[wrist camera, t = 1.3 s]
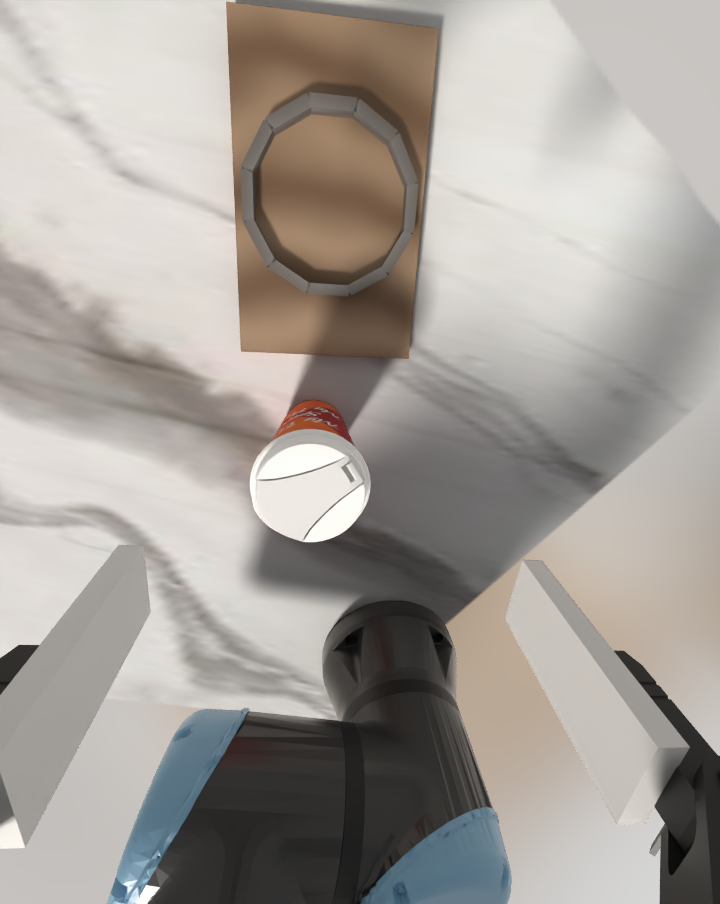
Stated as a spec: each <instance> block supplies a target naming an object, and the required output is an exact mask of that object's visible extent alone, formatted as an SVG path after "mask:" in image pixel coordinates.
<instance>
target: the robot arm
mask: <svg viewBox="0 0 720 904" xmlns="http://www.w3.org/2000/svg"><path fill="white" fill-rule="evenodd" d="M149 614H150V603H149V593H148V584H147V574H146V564H145V555H144V546H134V545H119V546H118V547H117V548H116V549H115V551H114V552H113V553H112V554H111V556H110V557H109V558H108V559H107V561H106V562H105V563H104V565H103V566H102V567H101V568H100V570H99V571H98V572H97V573H96V575H95V576H94V577H93V578H92V580H91V581H90V582H89V583H88V585H87V586H86V587H85V589H84V590H83V591H82V592H81V594H80V595H79V596H78V597H77V599H76V600H75V601H74V602H73V604H72V605H71V606H70V608H69V609H68V610H67V611H66V613H65V614H64V615H63V616H62V618H61V619H60V620H59V621H58V623H57V624H56V625H55V627H54V628H53V629H52V630H51V632H50V633H49V634H48V635H47V637H46V638H45V639H44V640H43V642H42V643H41V644H40V645H18V646H17V647H15V648H14V649H13V650H11V651H10V652H8V653H7V654H6V655H4V656H3V657H1V658H0V849H2V848H25V847H26V845H27V843H28V841H29V840H30V838H31V836H32V834H33V832H34V830H35V828H36V826H37V825H38V822H39V821H40V819H41V817H42V815H43V813H44V811H45V809H46V807H47V805H48V804H49V802H50V800H51V798H52V796H53V794H54V792H55V790H56V789H57V787H58V785H59V783H60V781H61V779H62V777H63V776H64V773H65V772H66V770H67V768H68V766H69V764H70V762H71V761H72V759H73V757H74V755H75V753H76V751H77V749H78V747H79V745H80V743H81V741H82V740H83V738H84V736H85V734H86V732H87V730H88V729H89V727H90V725H91V723H92V721H93V719H94V717H95V715H96V713H97V712H98V710H99V708H100V706H101V704H102V702H103V700H104V698H105V697H106V695H107V693H108V691H109V689H110V687H111V685H112V683H113V681H114V680H115V678H116V676H117V674H118V672H119V670H120V668H121V666H122V665H123V663H124V661H125V659H126V657H127V655H128V653H129V651H130V649H131V648H132V646H133V644H134V642H135V640H136V638H137V636H138V634H139V633H140V631H141V629H142V627H143V625H144V623H145V621H146V619H147V617H148V616H149ZM505 620H506V622H507V624H508V625H509V627H510V629H511V631H512V633H513V635H514V637H515V638H516V640H517V642H518V644H519V646H520V648H521V649H522V651H523V653H524V655H525V657H526V659H527V660H528V662H529V664H530V666H531V668H532V670H533V672H534V673H535V675H536V677H537V679H538V681H539V683H540V684H541V686H542V688H543V690H544V692H545V694H546V695H547V697H548V699H549V701H550V703H551V705H552V707H553V708H554V710H555V712H556V714H557V716H558V717H559V719H560V721H561V723H562V725H563V727H564V729H565V731H566V732H567V734H568V736H569V738H570V740H571V741H572V743H573V745H574V747H575V749H576V751H577V753H578V754H579V756H580V758H581V760H582V762H583V764H584V765H585V767H586V769H587V771H588V773H589V774H590V777H591V778H592V780H593V782H594V784H595V786H596V788H597V790H598V791H599V793H600V795H601V797H602V799H603V800H604V802H605V804H606V806H607V808H608V810H609V812H610V813H611V815H612V817H613V819H614V821H615V823H616V824H640V823H646V822H647V820H648V818H649V816H650V815H651V813H652V812H653V810H654V808H656V810H657V811H658V813H659V814H660V816H661V818H662V819H663V821H664V822H665V824H664V826H663V828H662V829H661V831H660V833H659V834H658V836H657V837H656V839H655V841H654V842H653V844H652V846H651V849H650V852H649V853H650V854H652V855H653V856H655V855H656V854H657V852H658V851H659V849H660V848H661V859H660V904H720V756H718V755H717V754H716V753H715V752H714V751H713V749H712V748H711V747H710V746H709V745H708V743H707V742H706V741H705V740H704V739H703V738H702V736H701V735H700V734H699V733H698V731H697V730H696V729H695V728H694V727H693V726H692V724H691V723H690V722H689V721H688V720H687V719H686V717H685V716H684V715H683V714H682V712H681V711H680V710H679V709H678V708H677V706H676V705H675V704H674V703H673V702H672V700H669V699H668V696H667V695H666V693H665V692H664V691H663V690H662V689H661V687H660V686H658V685H657V684H656V681H655V680H654V679H653V678H652V677H651V676H650V674H649V673H648V672H647V671H646V669H645V668H644V667H643V666H642V665H641V664H640V663H639V662H637V661H636V660H635V659H633V658H632V657H631V656H630V655H628V654H627V653H626V652H625V651H613V650H612V648H611V647H610V646H609V645H608V643H607V642H606V641H605V639H604V638H603V637H602V636H601V634H600V633H599V632H598V631H597V629H596V628H595V627H594V626H593V624H592V623H591V622H590V620H589V619H588V618H587V617H586V616H585V614H584V613H583V612H582V610H581V609H580V608H579V607H578V605H577V604H576V603H575V602H574V600H573V599H572V598H571V597H570V595H569V594H568V593H567V592H566V590H565V589H564V588H563V586H562V585H561V584H560V583H559V581H558V580H557V579H556V578H555V576H554V575H553V574H552V573H551V571H550V570H549V569H548V568H547V566H546V565H545V564H544V562H543V561H538V560H522V562H521V566H520V569H519V573H518V576H517V580H516V583H515V586H514V590H513V593H512V597H511V600H510V604H509V607H508V610H507V614H506V618H505ZM322 663H323V679H324V684H325V687H326V689H327V692H328V694H329V697H330V699H331V702H332V704H333V707H334V709H335V712H336V714H337V717H338V719H339V721H335V720H326V719H316V718H307V717H297V716H288V715H278V714H269V713H259V712H250V711H249V710H250V709H248V708H244V709H242V710H241V711H238V710H216V709H204V710H200V711H197V712H195V713H193V714H192V715H190V716H189V717H188V718H187V719H186V720H185V721H184V722H183V723H182V724H181V726H180V727H179V728H178V730H177V731H176V733H175V735H174V737H173V738H172V740H171V742H170V744H169V746H168V748H167V750H166V752H165V754H164V757H163V758H162V761H161V763H160V765H159V767H158V769H157V771H156V774H155V776H154V778H153V781H152V783H151V785H150V787H149V790H148V792H147V794H146V797H145V799H144V802H143V805H142V807H141V809H140V811H139V814H138V816H137V819H136V821H135V824H134V826H133V829H132V831H131V834H130V837H129V839H128V842H127V845H126V847H125V850H124V853H123V855H122V858H121V861H120V864H119V867H118V871H117V876H116V878H115V882H114V885H113V888H112V890H111V892H110V895H109V899H108V902H107V904H507V903H508V900H509V897H510V892H511V882H512V881H511V870H510V866H509V862H508V858H507V855H506V850H505V847H504V843H503V839H502V836H501V832H500V828H499V820H498V816H497V814H496V812H495V811H494V809H493V807H492V805H491V802H490V799H489V796H488V793H487V790H486V787H485V784H484V781H483V779H482V776H481V773H480V770H479V767H478V764H477V761H476V758H475V755H474V753H473V749H472V747H471V744H470V741H469V738H468V735H467V732H466V729H465V726H464V723H463V721H462V718H461V715H460V712H459V709H458V706H457V703H456V653H455V648H454V645H453V642H452V640H451V637H450V635H449V632H448V630H447V628H446V626H445V624H444V623H443V622H442V620H441V619H440V618H439V617H438V616H437V615H435V614H434V613H433V612H431V611H430V610H428V609H426V608H424V607H422V606H419V605H417V604H413V603H409V602H401V601H387V602H379V603H375V604H371V605H367V606H365V607H362V608H360V609H358V610H356V611H354V612H352V613H350V614H349V615H347V616H346V617H345V618H343V619H342V620H341V621H340V622H339V623H338V624H337V625H336V626H335V627H334V628H333V629H332V631H331V632H330V634H329V636H328V637H327V639H326V642H325V644H324V648H323V655H322Z"/></svg>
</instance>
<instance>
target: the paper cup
mask: <svg viewBox="0 0 720 904" xmlns="http://www.w3.org/2000/svg"><path fill="white" fill-rule="evenodd" d="M370 486H371V481H370V473H369V470H368V467H367V464H366V462H365V460H364V458H363V456H362V455H361V454H360V452H359V451H358V450H357V449H356V448H355V447H354V444H353V442H352V440H351V437H350V435H349V433H348V430H347V428H346V426H345V423H344V421H343V419H342V417H341V416H340V414H339V413H338V411H337V410H336V409H335V408H334V407H332V406H331V405H329V404H327V403H325V402H322V401H318V400H309V401H305V402H302V403H300V404H298V405H296V406H295V407H294V408H292V409H291V411H290V412H289V413H288V414H287V416H286V417H285V419H284V421H283V422H282V424H281V426H280V428H279V429H278V431H277V433H276V435H275V437H274V438H273V440H272V442H271V443H269V444H268V445H267V446H266V447H265V448H264V449H263V450H262V452H261V453H260V454H259V456H258V457H257V459H256V461H255V463H254V465H253V468H252V472H251V477H250V492H251V496H252V501H253V506H254V510H255V511H256V513H257V514H258V516H259V517H260V518H261V519H262V520H263V522H264V523H265V524H266V525H267V526H269V527H270V528H271V529H273V530H275V531H277V532H279V533H280V534H282V535H284V536H287V537H289V538H292V539H295V540H299V541H302V542H319V541H324V540H328V539H331V538H333V537H335V536H338V535H339V534H341V533H343V532H344V531H346V530H347V529H348V528H349V527H350V526H351V525H352V524H353V523H354V522H355V521H356V520H357V518H358V517H359V516H360V514H361V513H362V511H363V510H364V508H365V506H366V504H367V501H368V499H369V494H370Z"/></svg>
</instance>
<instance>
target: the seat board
mask: <svg viewBox="0 0 720 904" xmlns="http://www.w3.org/2000/svg"><path fill="white" fill-rule="evenodd" d="M226 8H227V32H228V55H229V79H230V102H231V126H232V150H233V173H234V197H235V221H236V244H237V268H238V292H239V315H240V339H241V351H244V352H266V353H289V354H312V355H335V356H358V357H380V358H403V359H409V348H410V337H411V326H412V315H413V304H414V293H415V282H416V271H417V260H418V249H419V239H420V228H421V217H422V206H423V195H424V184H425V173H426V162H427V151H428V140H429V129H430V119H431V108H432V97H433V86H434V75H435V64H436V53H437V42H438V31H439V29H438V28H430V27H422V26H414V25H406V24H398V23H391V22H383V21H375V20H367V19H359V18H351V17H343V16H335V15H328V14H320V13H312V12H304V11H296V10H288V9H280V8H272V7H264V6H257V5H249V4H241V3H233V2H226Z"/></svg>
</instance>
